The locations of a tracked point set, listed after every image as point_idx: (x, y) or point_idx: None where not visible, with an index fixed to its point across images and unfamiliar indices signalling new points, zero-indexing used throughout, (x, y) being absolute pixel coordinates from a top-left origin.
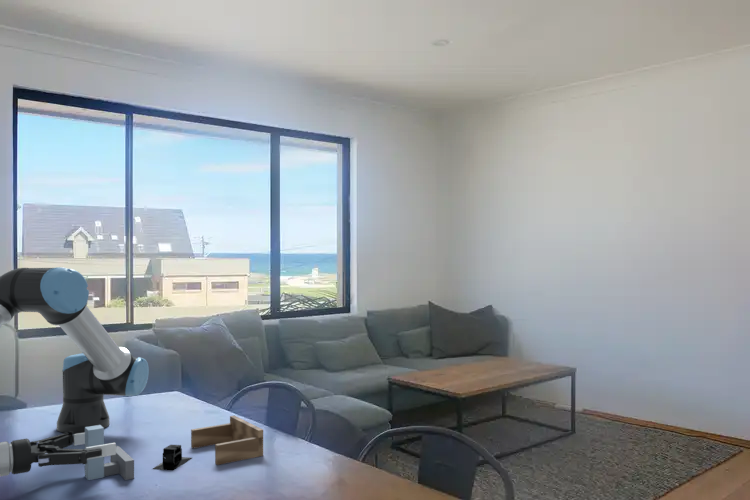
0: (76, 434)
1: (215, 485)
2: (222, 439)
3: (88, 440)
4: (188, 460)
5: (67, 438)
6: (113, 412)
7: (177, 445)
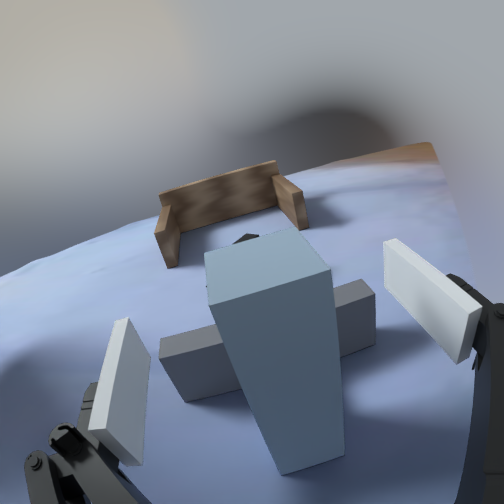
0: (106, 416)
1: (421, 216)
2: (177, 233)
3: (337, 329)
4: None
5: (116, 475)
6: None
7: (244, 237)
